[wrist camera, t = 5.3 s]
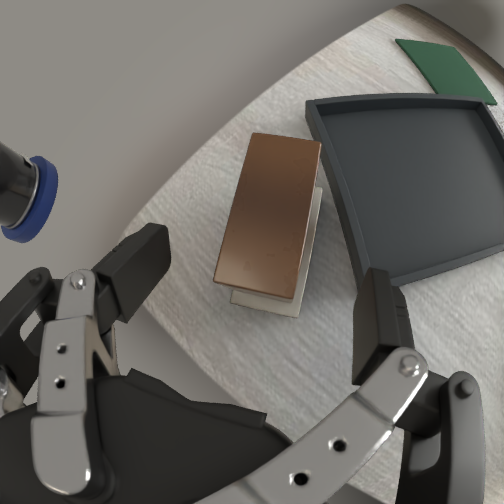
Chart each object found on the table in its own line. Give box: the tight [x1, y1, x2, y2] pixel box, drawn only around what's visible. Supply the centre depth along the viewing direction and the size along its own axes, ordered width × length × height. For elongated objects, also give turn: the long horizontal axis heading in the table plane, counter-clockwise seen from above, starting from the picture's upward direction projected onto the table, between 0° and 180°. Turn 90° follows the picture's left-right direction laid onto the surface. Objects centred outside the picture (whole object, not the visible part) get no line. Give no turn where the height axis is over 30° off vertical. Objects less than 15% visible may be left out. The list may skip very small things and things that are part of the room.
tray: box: [305, 93, 504, 292], centre depth 16 cm, size 19×14×2 cm
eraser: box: [213, 133, 323, 318], centre depth 14 cm, size 8×4×8 cm, turn 167°
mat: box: [395, 39, 498, 105], centre depth 19 cm, size 10×10×1 cm
